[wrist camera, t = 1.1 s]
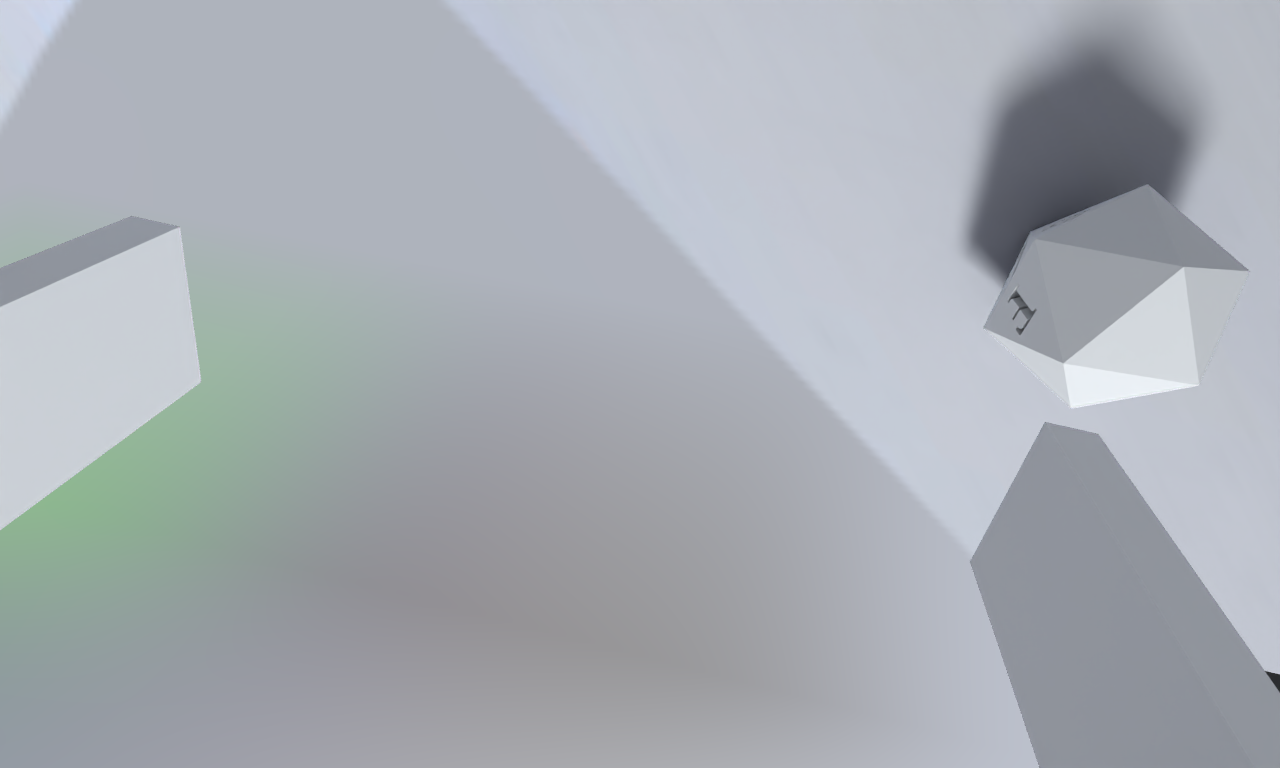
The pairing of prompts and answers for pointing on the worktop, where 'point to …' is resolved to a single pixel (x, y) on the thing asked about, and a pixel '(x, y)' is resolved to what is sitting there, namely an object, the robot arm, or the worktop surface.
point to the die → (1117, 301)
